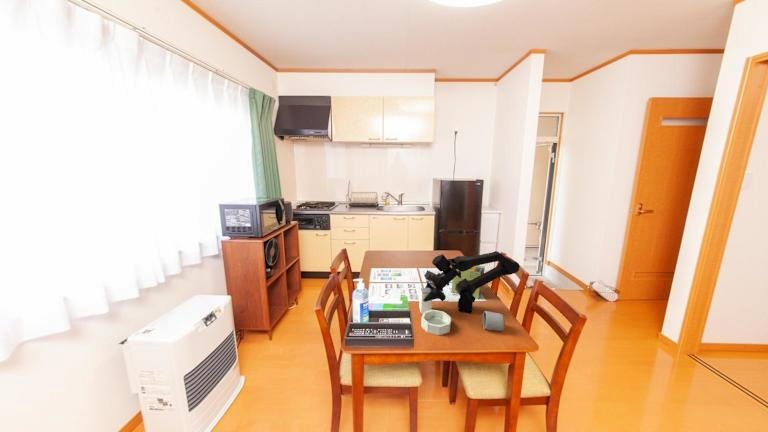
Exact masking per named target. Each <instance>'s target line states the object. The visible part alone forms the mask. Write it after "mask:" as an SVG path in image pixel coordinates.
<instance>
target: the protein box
mask: <svg viewBox="0 0 768 432" xmlns="http://www.w3.org/2000/svg"><path fill="white" fill-rule="evenodd" d="M456 270H457V271H459V270H458V269H456ZM460 272H461V271H460ZM484 273H485V266H483V265H477V266H474V267H472V268H471V269H469V270H467V271H464V272H461V278H459V277H458V276H456V277H455V278H454V279H453V280H452V281H451V292H452V293H454V294H458V292H457V291H456V284H457V283H459V282H458V281H462V280H463V279H465V278H466V279H467V280H472V279H474V278H476V277H478V276H480V275H482V274H484ZM483 290H484V285H483V286H481V287H480V288H478V289H476V291H475V292H474V294H473V296H474V297H475V298H476V299H475V300H479V299H480V298H481V296H482V294H483Z"/></svg>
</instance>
